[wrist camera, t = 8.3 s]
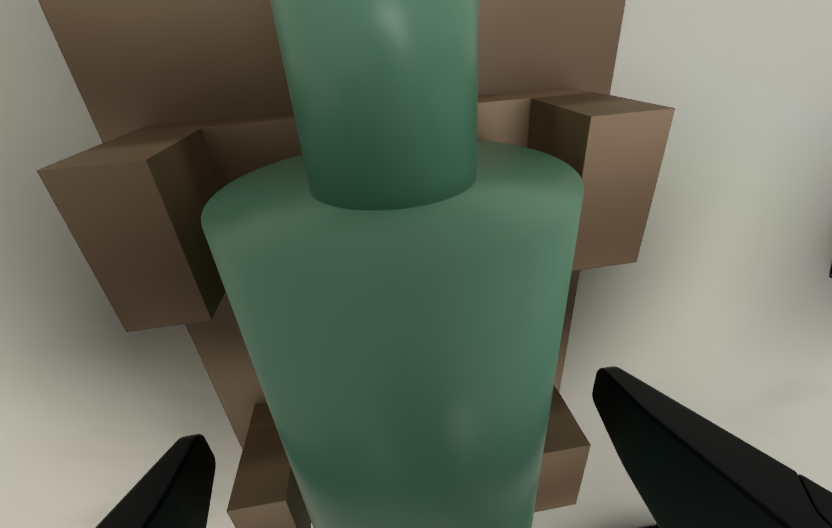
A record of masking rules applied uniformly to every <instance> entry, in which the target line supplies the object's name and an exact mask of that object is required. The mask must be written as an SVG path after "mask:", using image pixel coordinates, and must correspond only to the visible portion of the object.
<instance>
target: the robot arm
mask: <svg viewBox="0 0 832 528" xmlns="http://www.w3.org/2000/svg"><path fill="white" fill-rule="evenodd" d="M592 397H593V401H594V404H595V406H596V408H597V410H598V412H599V415H600V417H601V419H602V421H603V423H604V425H605V428H606V430H607V432H608V434H609V436H610V438H611V441H612V443H613V445H614V447H615V449H616V451H617V454H618V456H619V458H620V460H621V462H622V464H623V466H624V467H625V469H626V471H627V473H628V475H629V476H630V478H631V480H632V482H633V483H634V485H635V487H636V488H637V490H638V492H639V494H640V495H641V497H642V499H643V500H644V502H645V504H646V506H647V507H648V509H649V511H650V512H651V514H652V516H653V517H654V519H655V521H656V523H657V524H658V526H659V528H832V492H830V491H828V490H827V489H825V488H823V487H821V486H820V485H818V484H816V483H815V482H813V481H811V480H809V479H808V478H806V477H804V476H803V475H798V474H797V473H796V472H795V471H794V470H792V469H791V468H789V467H787V466H785V465H784V464H782V463H780V462H779V461H777V460H775V459H773V458H772V457H770V456H768V455H767V454H765V453H763V452H762V451H760V450H758V449H756V448H755V447H753V446H751V445H750V444H748V443H746V442H745V441H743V440H741V439H739V438H738V437H736V436H734V435H733V434H731V433H729V432H728V431H726V430H724V429H722V428H721V427H719V426H717V425H716V424H714V423H712V422H711V421H709V420H707V419H705V418H704V417H702V416H700V415H699V414H697V413H695V412H693V411H692V410H690V409H688V408H687V407H685V406H683V405H682V404H680V403H678V402H676V401H675V400H673V399H671V398H670V397H668V396H666V395H665V394H663V393H661V392H659V391H658V390H656V389H654V388H653V387H651V386H649V385H648V384H646V383H644V382H642V381H641V380H639V379H637V378H636V377H634V376H632V375H631V374H629V373H627V372H625V371H624V370H622V369H620V368H618V367H614V366H613V367H606V368H601V369H599V370H598V371H597V374H596V378H595V383H594V387H593V392H592ZM215 465H216V463H215V457H214V455H213V453H212V451H211V449H210V447H209V445H208V443H207V441H206V439H205V438H204V436H203V435H201V434H196V435H190V436H185V437H182V438H180V439H179V440H177V441H176V442H175V443H174V445H173V446H172V447H171V448H170V449H169V450H168V451H167V452H166V453H165V454H164V455H163V456H162V457H161V458H160V459H159V460H158V462H157V463H156V464H155V465H154V466H153V467H152V468H151V469H150V470H149V471H148V472H147V473H146V474H145V475H144V476H143V478H142V479H141V480H140V481H139V482H138V483H137V484H136V485H135V486H134V487H133V488H132V489H131V490H130V491H129V492H128V493H127V495H126V496H125V497H124V498H123V499H122V500H121V501H120V502H119V503H118V504H117V505H116V506H115V507H114V508H113V509H112V510H111V512H110V513H109V514H108V515H107V516H106V517H105V518H104V519H103V520H102V521H101V522H100V523H99V524H98V525H97V526H96V528H206V525H207V518H208V512H209V506H210V499H211V493H212V486H213V480H214V474H215Z"/></svg>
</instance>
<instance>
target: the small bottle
mask: <svg viewBox="0 0 832 528" xmlns="http://www.w3.org/2000/svg"><path fill="white" fill-rule="evenodd" d="M270 3H271V7H272V12H273V17H274V22H275V26H276V31H277V36H278V41H279V46H280V50H281V55H282V60H283V65H284V69H285V74H286V79H287V84H288V89H289V93H290V98H291V103H292V108H293V112H294V117H295V122H296V127H297V132H298V136H299V141H300V146H301V151H302V155H298V156H295V157H291V158H288V159H285V160H281V161H278V162H275V163H273V164H270V165H267V166H264V167H262V168H259V169H257V170H254V171H252V172H250V173H248V174H246V175H244V176H241V177H239V178H238V179H236V180H234V181H232V182H231V183H229V184H227V185H226V186H225V187H223V188H222V189H220V190H219V191H218V192H217V193H216V194H215V195H214V196H212V197H211V198H210V199H209V201H208V202H207V204H206V205H205V207H204V208H203V211H202V215H201V224H202V229H203V231H204V234H205V237H206V239H207V242H208V245H209V247H210V250H211V253H212V255H213V258H214V261H215V264H216V266H217V269H218V272H219V274H220V277H221V280H222V282H223V285H224V288H225V290H226V293H227V296H228V299H229V301H230V304H231V307H232V309H233V312H234V315H235V317H236V320H237V323H238V325H239V328H240V331H241V334H242V336H243V339H244V342H245V344H246V347H247V350H248V352H249V355H250V358H251V360H252V363H253V366H254V369H255V371H256V374H257V377H258V379H259V382H260V385H261V387H262V390H263V393H264V395H265V398H266V401H267V404H268V406H269V409H270V412H271V414H272V417H273V420H274V422H275V425H276V428H277V430H278V433H279V436H280V439H281V441H282V444H283V447H284V449H285V452H286V455H287V457H288V460H289V463H290V465H291V468H292V471H293V474H294V476H295V479H296V482H297V484H298V487H299V490H300V492H301V495H302V498H303V501H304V503H305V506H306V509H307V511H308V514H309V517H310V519H311V522H312V525H313V527H314V528H531V527H532V521H533V514H534V508H535V502H536V495H537V489H538V483H539V476H540V470H541V463H542V457H543V451H544V444H545V438H546V431H547V425H548V419H549V412H550V406H551V399H552V393H553V387H554V380H555V374H556V368H557V361H558V355H559V348H560V342H561V336H562V329H563V323H564V316H565V310H566V304H567V297H568V291H569V284H570V278H571V272H572V265H573V259H574V253H575V246H576V240H577V233H578V227H579V221H580V214H581V208H582V201H583V195H584V185H583V180H582V179H581V177H580V175H579V174H578V172H576V171H575V170H574V169H573V168H572V167H571V166H570V165H568V164H567V163H565V162H564V161H562V160H560V159H558V158H556V157H554V156H551V155H549V154H546V153H543V152H541V151H538V150H534V149H530V148H527V147H523V146H518V145H513V144H508V143H501V142H495V141H486V140H477V106H478V28H479V0H270Z"/></svg>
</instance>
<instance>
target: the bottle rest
mask: <svg viewBox="0 0 832 528" xmlns="http://www.w3.org/2000/svg"><path fill="white" fill-rule="evenodd" d="M38 1H39V3H40V6H41V8H42V10H43V12H44V14H45V17H46V19H47V21H48V23H49V25H50V28H51V30H52V32H53V34H54V36H55V39H56V41H57V43H58V45H59V47H60V50H61V52H62V54H63V56H64V58H65V61H66V63H67V65H68V67H69V69H70V72H71V74H72V76H73V78H74V80H75V83H76V85H77V87H78V89H79V91H80V94H81V96H82V98H83V100H84V102H85V105H86V107H87V109H88V111H89V113H90V116H91V118H92V120H93V122H94V124H95V126H96V129H97V131H98V133H99V135H100V137H101V140H102V142H103V144H101V145H98V146H96V147H93V148H91V149H88V150H86V151H83V152H81V153H78V154H76V155H74V156H71V157H69V158H66V159H64V160H61V161H59V162H56V163H54V164H51V165H49V166H47V167H44V168H42V169H39V170H37V172H38V174H39V176H40V178H41V179H42V181H43V183H44V185H45V187H46V188H47V190H48V192H49V194H50V196H51V197H52V199H53V201H54V203H55V204H56V206H57V208H58V210H59V212H60V213H61V215H62V217H63V219H64V221H65V222H66V224H67V226H68V228H69V230H70V231H71V233H72V235H73V237H74V239H75V240H76V242H77V244H78V246H79V248H80V249H81V251H82V253H83V255H84V257H85V258H86V260H87V262H88V264H89V265H90V267H91V269H92V271H93V273H94V274H95V276H96V278H97V280H98V282H99V283H100V285H101V287H102V289H103V291H104V292H105V294H106V296H107V298H108V300H109V301H110V303H111V305H112V307H113V309H114V310H115V312H116V314H117V316H118V317H119V319H120V321H121V323H122V325H123V326H124V328H125V330H126V332H129V331H136V330H143V329H150V328H158V327H165V326H172V325H180V324H186V326H187V329H188V331H189V333H190V335H191V337H192V340H193V342H194V344H195V346H196V348H197V351H198V353H199V355H200V357H201V359H202V362H203V364H204V366H205V368H206V370H207V373H208V375H209V377H210V379H211V381H212V384H213V386H214V388H215V390H216V392H217V395H218V397H219V399H220V401H221V403H222V406H223V408H224V410H225V412H226V414H227V417H228V419H229V421H230V423H231V425H232V428H233V430H234V432H235V434H236V436H237V439H238V441H239V443H240V445H241V447H242V450H243V451H242V455H241V459H240V463H239V466H238V470H237V474H236V478H235V482H234V485H233V489H232V493H231V497H230V501H229V504H228V508H227V513H228V515H229V517H230V518H231V520H232V522H233V524H234V526H235V527H236V528H311V519H310V517H309V514H308V511H307V509H306V506H305V503H304V501H303V498H302V495H301V492H300V490H299V487H298V484H297V482H296V479H295V476H294V474H293V471H292V468H291V465H290V463H289V460H288V457H287V455H286V452H285V449H284V447H283V444H282V441H281V439H280V436H279V433H278V430H277V428H276V425H275V422H274V420H273V417H272V414H271V412H270V409H269V406H268V404H267V401H266V398H265V395H264V393H263V390H262V387H261V385H260V382H259V379H258V377H257V374H256V371H255V369H254V366H253V363H252V360H251V358H250V355H249V352H248V350H247V347H246V344H245V342H244V339H243V336H242V334H241V331H240V328H239V325H238V323H237V320H236V317H235V315H234V312H233V309H232V307H231V304H230V301H229V299H228V296H227V293H226V290H225V288H224V285H223V282H222V280H221V277H220V274H219V272H218V269H217V266H216V264H215V261H214V258H213V255H212V253H211V250H210V247H209V245H208V242H207V239H206V237H205V234H204V231H203V229H202V224H201V215H202V211H203V208H204V207H205V205H206V204H207V202H208V201H209V199H210V198H211V197H212V196H214V195H215V194H216V193H217V192H218V191H219V190H220V189H222V188H223V187H225V186H226V185H227V184H229V183H231V182H232V181H234V180H236V179H238V178H239V177H241V176H244V175H246V174H248V173H250V172H252V171H254V170H257V169H259V168H262V167H264V166H267V165H270V164H273V163H275V162H278V161H281V160H285V159H288V158H291V157H295V156H298V155H302V151H301V146H300V141H299V136H298V132H297V127H296V122H295V117H294V112H293V108H292V103H291V98H290V93H289V89H288V84H287V79H286V74H285V69H284V65H283V60H282V55H281V50H280V46H279V41H278V36H277V31H276V26H275V22H274V17H273V12H272V7H271V3H270V0H38ZM625 1H626V0H479V28H478V106H477V140H486V141H495V142H501V143H508V144H513V145H518V146H523V147H527V148H530V149H534V150H538V151H541V152H543V153H546V154H549V155H551V156H554V157H556V158H558V159H560V160H562V161H564V162H565V163H567V164H568V165H570V166H571V167H572V168H573V169H574V170H575V171H576V172H578V174H579V175H580V177H581V179H582V180H583V185H584V195H583V201H582V208H581V214H580V221H579V227H578V233H577V240H576V246H575V253H574V259H573V265H572V272H571V278H570V284H569V291H568V297H567V304H566V310H565V316H564V323H563V329H562V336H561V342H560V348H559V355H558V361H557V368H556V374H555V380H554V387H553V393H552V399H551V406H550V412H549V419H548V425H547V431H546V438H545V444H544V451H543V457H542V463H541V470H540V476H539V483H538V489H537V495H536V502H535V508H534V512H537V511H543V510H548V509H553V508H558V507H563V506H568V505H573V504H576V501H577V497H578V493H579V489H580V485H581V481H582V477H583V473H584V469H585V465H586V461H587V457H588V453H589V449H590V443H589V442H588V440H587V438H586V437H585V435H584V433H583V432H582V430H581V428H580V427H579V425H578V423H577V422H576V420H575V418H574V417H573V415H572V413H571V412H570V410H569V408H568V407H567V405H566V403H565V402H564V400H563V398H562V397H561V395H560V393H559V390H560V384H561V378H562V372H563V366H564V360H565V354H566V348H567V342H568V336H569V331H570V325H571V319H572V313H573V307H574V301H575V295H576V289H577V283H578V278H579V272H580V270H582V269H589V268H597V267H604V266H611V265H619V264H626V263H633V262H637V258H638V254H639V250H640V246H641V242H642V238H643V234H644V230H645V226H646V222H647V218H648V214H649V210H650V206H651V202H652V198H653V194H654V190H655V186H656V182H657V178H658V174H659V170H660V166H661V162H662V158H663V154H664V150H665V146H666V142H667V138H668V134H669V130H670V127H671V123H672V119H673V115H674V111H675V108H671V107H666V106H661V105H656V104H651V103H646V102H641V101H636V100H631V99H626V98H621V97H616V96H611V95H610V89H611V83H612V77H613V71H614V65H615V60H616V54H617V48H618V42H619V36H620V30H621V24H622V18H623V12H624V7H625Z"/></svg>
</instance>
